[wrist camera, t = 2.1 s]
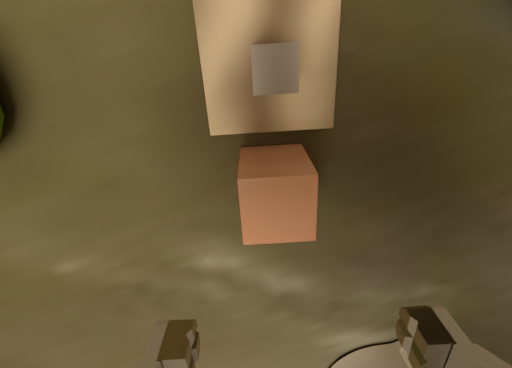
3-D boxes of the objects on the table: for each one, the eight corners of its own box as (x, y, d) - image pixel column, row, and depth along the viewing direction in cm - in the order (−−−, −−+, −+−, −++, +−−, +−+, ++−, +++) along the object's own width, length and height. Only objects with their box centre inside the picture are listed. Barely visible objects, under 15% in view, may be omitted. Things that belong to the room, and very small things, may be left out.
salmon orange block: (301, 143, 24) (318, 174, 18) (300, 197, 26) (315, 240, 20) (240, 147, 24) (237, 179, 18) (245, 200, 26) (243, 244, 20)
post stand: (340, -21, 19) (378, -52, 13) (331, 126, 23) (357, 150, 17) (192, -11, 19) (167, -38, 13) (211, 133, 23) (198, 160, 18)
